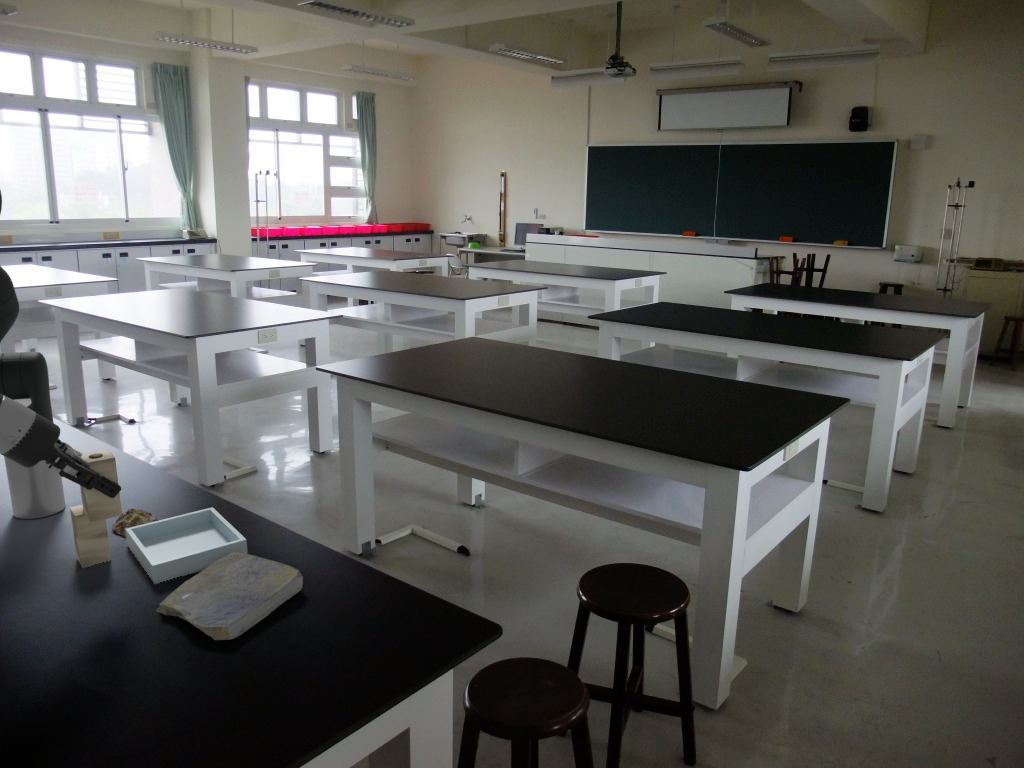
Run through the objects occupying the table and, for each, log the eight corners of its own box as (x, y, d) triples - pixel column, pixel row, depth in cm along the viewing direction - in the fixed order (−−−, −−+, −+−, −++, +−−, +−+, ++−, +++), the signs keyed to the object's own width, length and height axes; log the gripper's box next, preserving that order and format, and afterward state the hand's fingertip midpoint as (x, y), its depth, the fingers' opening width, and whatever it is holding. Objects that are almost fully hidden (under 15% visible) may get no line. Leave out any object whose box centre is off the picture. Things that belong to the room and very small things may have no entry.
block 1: (84, 512, 123) (76, 454, 121) (115, 505, 126) (108, 448, 123) (90, 522, 120) (82, 462, 117) (122, 515, 123) (115, 456, 120)
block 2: (77, 558, 136) (66, 480, 133) (105, 551, 139) (95, 475, 135) (82, 568, 133) (71, 489, 129) (111, 560, 136) (100, 482, 132)
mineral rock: (103, 515, 149) (144, 495, 153) (112, 532, 151) (152, 513, 155) (116, 536, 141) (158, 515, 145) (125, 554, 143) (167, 533, 147)
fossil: (140, 627, 118) (223, 649, 111) (136, 600, 117) (219, 620, 110) (235, 574, 136) (312, 590, 128) (233, 550, 135) (309, 564, 128)
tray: (127, 545, 141) (125, 528, 140) (214, 523, 151) (212, 507, 150) (154, 584, 128) (152, 565, 127) (247, 557, 138) (246, 539, 137)
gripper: (41, 423, 108) (141, 482, 119) (26, 400, 119) (119, 456, 129) (3, 465, 106) (107, 522, 117) (-9, 438, 117) (88, 492, 127)
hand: (113, 487), depth 123 cm, fingers closed on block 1, 4 cm apart
